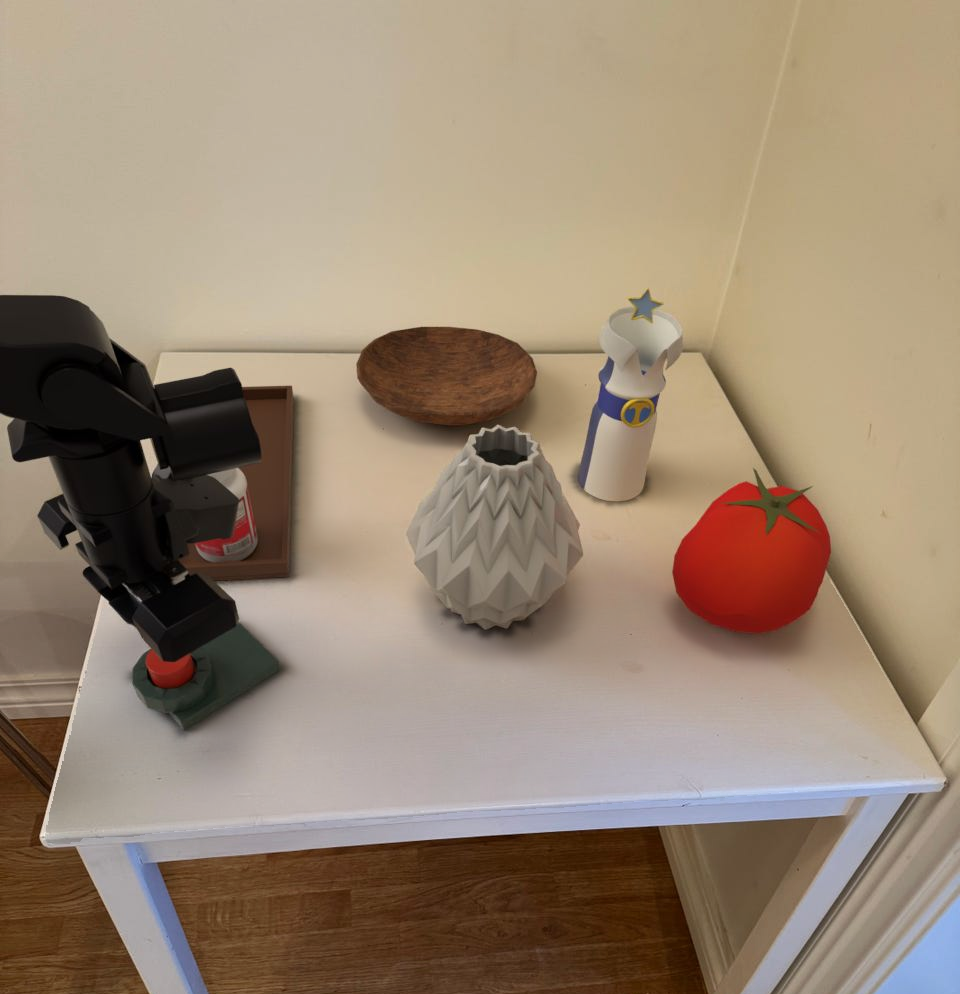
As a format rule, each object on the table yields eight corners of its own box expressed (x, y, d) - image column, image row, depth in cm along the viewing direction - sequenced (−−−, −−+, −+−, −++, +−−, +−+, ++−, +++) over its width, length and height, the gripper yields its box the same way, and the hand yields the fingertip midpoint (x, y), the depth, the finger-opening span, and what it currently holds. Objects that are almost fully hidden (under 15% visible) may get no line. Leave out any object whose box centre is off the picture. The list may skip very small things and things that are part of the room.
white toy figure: (658, 501, 97) (715, 289, 78) (585, 505, 95) (625, 292, 77) (638, 456, 102) (687, 248, 83) (569, 460, 101) (602, 250, 82)
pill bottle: (213, 520, 90) (192, 433, 82) (268, 532, 89) (252, 445, 81) (185, 559, 86) (160, 471, 78) (243, 572, 85) (224, 485, 77)
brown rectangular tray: (289, 576, 86) (287, 562, 84) (163, 583, 84) (158, 569, 83) (293, 399, 106) (291, 385, 105) (192, 402, 105) (189, 388, 103)
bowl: (536, 453, 101) (540, 418, 98) (350, 445, 101) (347, 409, 97) (530, 363, 115) (534, 329, 111) (365, 355, 114) (363, 320, 110)
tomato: (756, 548, 92) (798, 444, 82) (835, 640, 84) (892, 536, 74) (628, 580, 88) (656, 474, 78) (697, 680, 79) (738, 576, 69)
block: (170, 739, 72) (162, 718, 70) (122, 683, 76) (113, 662, 74) (281, 669, 78) (276, 648, 76) (231, 620, 81) (225, 599, 79)
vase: (387, 563, 88) (381, 409, 74) (533, 530, 92) (552, 379, 78) (439, 681, 78) (443, 529, 64) (600, 638, 82) (635, 487, 69)
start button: (165, 696, 72) (160, 681, 71) (143, 671, 74) (137, 656, 72) (202, 673, 74) (198, 658, 72) (180, 650, 76) (175, 634, 74)
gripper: (286, 505, 59) (308, 652, 70) (144, 388, 67) (185, 536, 79) (138, 582, 53) (188, 727, 65) (3, 443, 61) (69, 594, 73)
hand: (160, 637), depth 70 cm, fingers closed
